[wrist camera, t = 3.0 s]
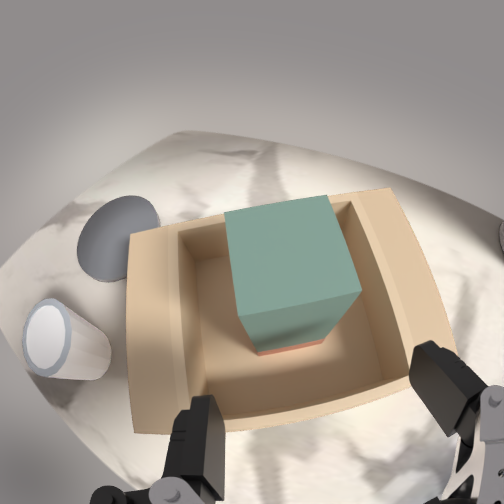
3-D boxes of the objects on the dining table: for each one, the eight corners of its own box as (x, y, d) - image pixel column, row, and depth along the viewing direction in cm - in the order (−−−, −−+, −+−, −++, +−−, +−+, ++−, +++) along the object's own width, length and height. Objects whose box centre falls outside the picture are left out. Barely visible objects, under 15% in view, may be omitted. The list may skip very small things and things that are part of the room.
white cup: (87, 309, 25) (44, 283, 19) (128, 345, 23) (84, 326, 17) (59, 359, 22) (13, 343, 16) (96, 400, 20) (47, 394, 14)
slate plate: (151, 187, 32) (149, 182, 31) (170, 258, 27) (166, 253, 26) (81, 223, 31) (77, 219, 30) (84, 296, 25) (79, 293, 25)
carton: (373, 225, 26) (390, 187, 21) (422, 372, 19) (459, 363, 13) (156, 265, 26) (130, 234, 21) (167, 426, 19) (134, 433, 14)
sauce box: (307, 286, 23) (327, 193, 13) (321, 343, 21) (363, 291, 10) (249, 297, 23) (222, 211, 13) (258, 356, 21) (236, 317, 10)
